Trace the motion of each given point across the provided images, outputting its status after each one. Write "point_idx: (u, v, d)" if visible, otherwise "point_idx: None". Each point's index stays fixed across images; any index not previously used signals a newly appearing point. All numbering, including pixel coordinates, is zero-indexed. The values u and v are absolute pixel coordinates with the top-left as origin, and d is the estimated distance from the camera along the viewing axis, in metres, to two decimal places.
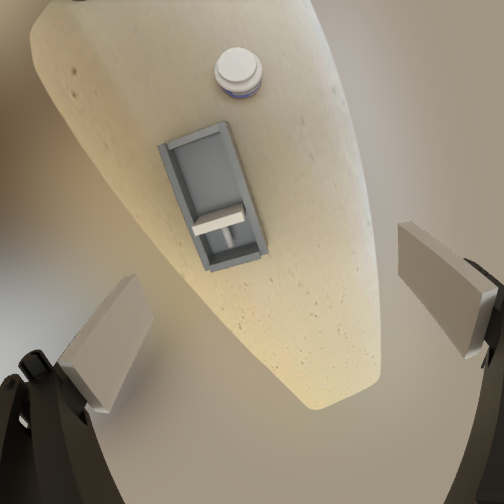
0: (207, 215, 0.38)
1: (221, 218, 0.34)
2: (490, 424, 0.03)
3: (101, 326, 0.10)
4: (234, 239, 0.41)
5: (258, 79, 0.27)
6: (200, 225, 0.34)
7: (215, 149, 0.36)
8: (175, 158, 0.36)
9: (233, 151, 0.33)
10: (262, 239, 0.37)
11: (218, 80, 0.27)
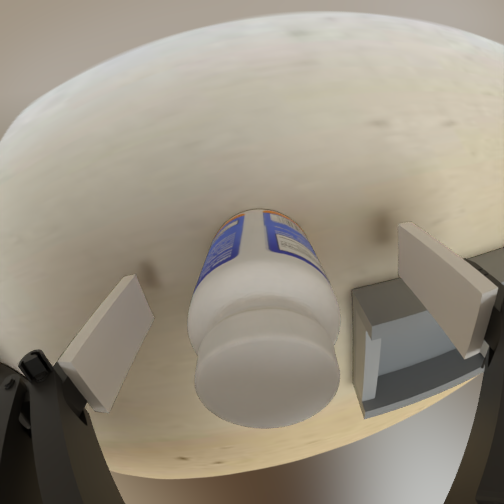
0: None
1: None
2: (489, 424, 0.03)
3: (101, 326, 0.10)
4: None
5: (315, 281, 0.09)
6: None
7: None
8: (385, 380, 0.18)
9: None
10: None
11: None
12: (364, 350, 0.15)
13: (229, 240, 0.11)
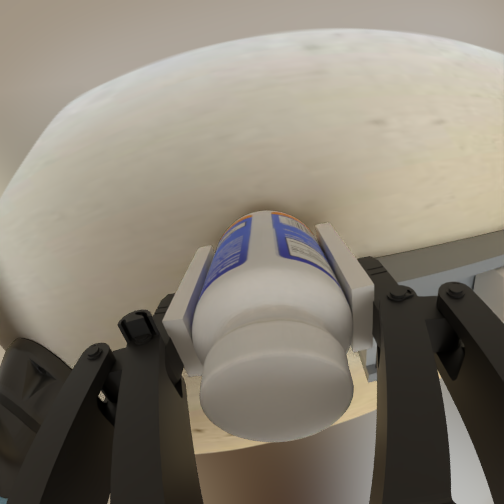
0: None
1: None
2: (384, 431, 0.04)
3: (198, 287, 0.11)
4: None
5: (328, 289, 0.08)
6: None
7: None
8: None
9: (427, 277, 0.16)
10: None
11: None
12: None
13: (236, 244, 0.11)
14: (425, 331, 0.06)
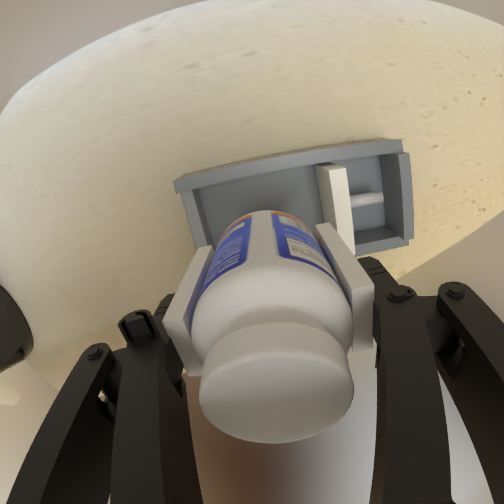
0: None
1: (335, 206, 0.19)
2: (384, 431, 0.04)
3: (198, 287, 0.11)
4: (370, 188, 0.23)
5: (328, 290, 0.08)
6: None
7: (223, 197, 0.24)
8: None
9: (224, 170, 0.20)
10: (378, 144, 0.19)
11: None
12: (186, 211, 0.23)
13: (236, 244, 0.11)
14: (425, 331, 0.06)
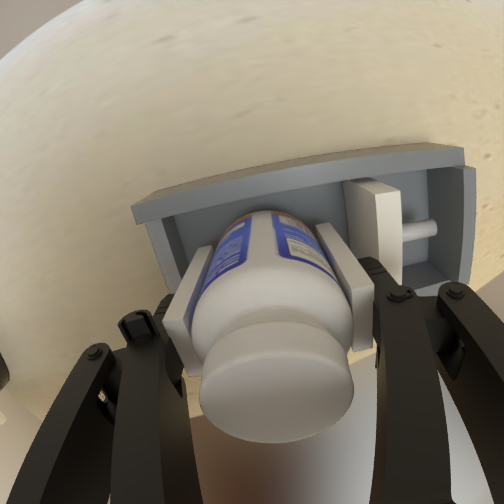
0: None
1: (380, 250, 0.12)
2: (384, 430, 0.04)
3: (198, 287, 0.11)
4: (413, 211, 0.16)
5: (328, 289, 0.08)
6: None
7: (209, 224, 0.17)
8: None
9: (206, 189, 0.13)
10: (436, 152, 0.12)
11: None
12: None
13: (236, 243, 0.11)
14: (425, 331, 0.06)
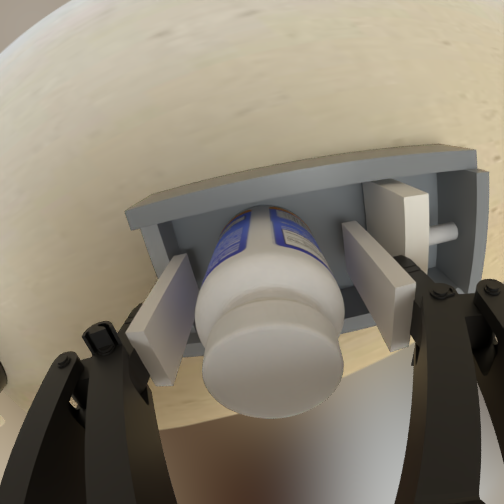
0: None
1: (406, 256, 0.11)
2: (421, 426, 0.04)
3: (165, 298, 0.11)
4: None
5: (320, 274, 0.09)
6: None
7: (208, 229, 0.16)
8: None
9: (204, 193, 0.12)
10: (448, 154, 0.11)
11: None
12: None
13: (236, 235, 0.11)
14: (465, 330, 0.05)
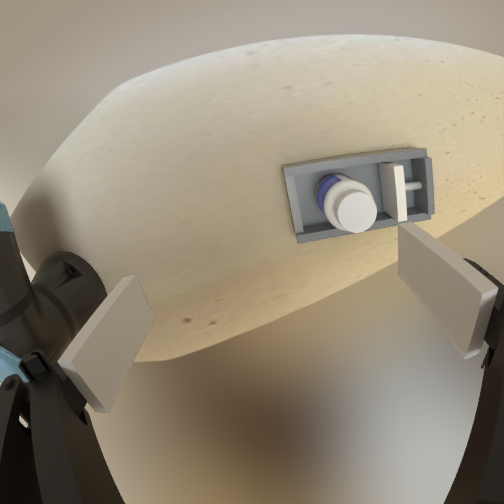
0: (385, 202, 0.33)
1: (396, 188, 0.28)
2: (489, 424, 0.03)
3: (101, 326, 0.10)
4: (405, 180, 0.33)
5: (365, 187, 0.27)
6: (398, 212, 0.29)
7: (310, 182, 0.34)
8: (312, 226, 0.35)
9: (319, 163, 0.30)
10: (412, 151, 0.28)
11: None
12: (287, 191, 0.33)
13: (333, 179, 0.29)
14: None
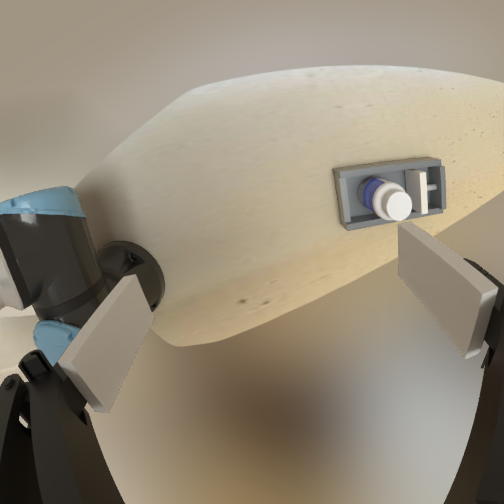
0: None
1: (421, 189, 0.36)
2: (489, 424, 0.03)
3: (101, 326, 0.10)
4: None
5: (402, 188, 0.34)
6: (422, 207, 0.37)
7: (354, 183, 0.42)
8: (356, 217, 0.43)
9: (365, 169, 0.38)
10: (431, 161, 0.36)
11: None
12: (340, 189, 0.40)
13: (377, 181, 0.37)
14: None
